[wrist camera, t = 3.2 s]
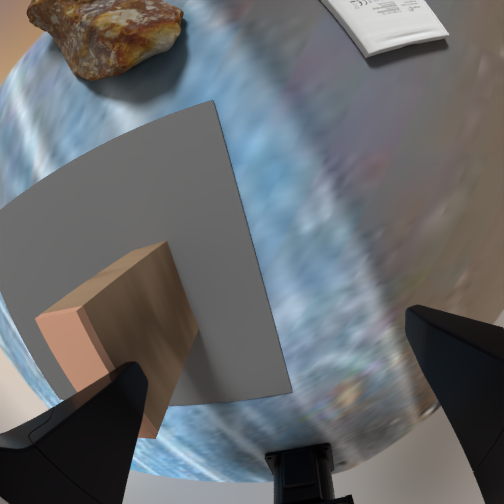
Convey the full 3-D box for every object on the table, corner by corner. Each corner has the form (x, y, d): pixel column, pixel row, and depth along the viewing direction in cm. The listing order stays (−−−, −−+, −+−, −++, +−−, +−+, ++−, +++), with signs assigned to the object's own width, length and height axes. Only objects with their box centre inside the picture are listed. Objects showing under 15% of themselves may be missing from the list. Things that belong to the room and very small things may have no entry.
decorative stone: (86, -64, 5) (228, -17, 9) (104, -41, 9) (229, 16, 13) (0, 27, 7) (101, 106, 11) (29, 38, 11) (130, 115, 15)
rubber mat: (291, 388, 19) (292, 392, 18) (61, 397, 22) (59, 399, 21) (213, 101, 14) (212, 99, 13) (-17, 225, 17) (-20, 226, 16)
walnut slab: (199, 328, 17) (155, 438, 9) (165, 333, 17) (109, 434, 9) (167, 240, 16) (76, 311, 7) (132, 250, 16) (34, 318, 7)
